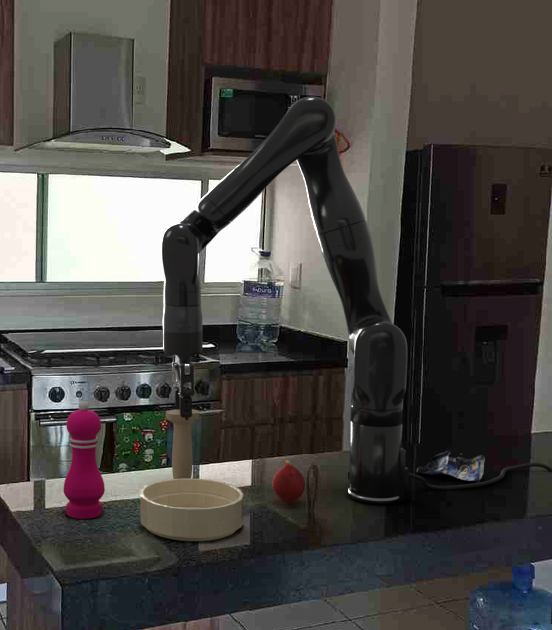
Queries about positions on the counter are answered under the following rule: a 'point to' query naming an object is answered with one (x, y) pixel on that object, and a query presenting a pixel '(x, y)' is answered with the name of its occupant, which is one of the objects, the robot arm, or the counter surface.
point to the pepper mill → (83, 465)
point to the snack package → (455, 467)
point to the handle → (182, 443)
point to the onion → (288, 483)
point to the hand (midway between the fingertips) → (183, 412)
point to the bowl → (191, 509)
